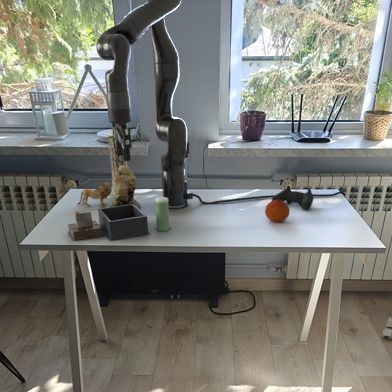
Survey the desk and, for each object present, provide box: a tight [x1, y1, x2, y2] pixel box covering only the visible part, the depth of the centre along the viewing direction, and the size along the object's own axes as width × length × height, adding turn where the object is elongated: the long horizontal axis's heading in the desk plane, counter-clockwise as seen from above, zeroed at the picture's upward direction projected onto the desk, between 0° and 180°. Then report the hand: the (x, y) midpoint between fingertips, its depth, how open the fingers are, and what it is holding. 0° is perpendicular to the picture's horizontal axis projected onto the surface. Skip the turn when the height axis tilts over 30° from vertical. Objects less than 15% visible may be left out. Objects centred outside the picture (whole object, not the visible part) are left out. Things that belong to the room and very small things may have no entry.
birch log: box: [107, 130, 128, 181], centre depth 213 cm, size 7×7×25 cm
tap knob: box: [73, 209, 93, 228], centre depth 176 cm, size 6×2×5 cm, turn 114°
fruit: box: [264, 199, 290, 223], centre depth 187 cm, size 9×9×8 cm
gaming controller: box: [271, 184, 314, 211], centre depth 203 cm, size 17×6×10 cm
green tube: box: [154, 196, 170, 232], centre depth 180 cm, size 5×5×11 cm
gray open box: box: [97, 204, 149, 241], centre depth 180 cm, size 14×16×7 cm
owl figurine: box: [109, 165, 141, 209], centre depth 197 cm, size 18×12×17 cm, turn 176°
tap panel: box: [67, 219, 103, 241], centre depth 178 cm, size 10×10×3 cm
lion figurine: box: [77, 182, 113, 208], centre depth 204 cm, size 15×5×9 cm, turn 94°
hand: (123, 158), depth 172 cm, fingers open, 8 cm apart
